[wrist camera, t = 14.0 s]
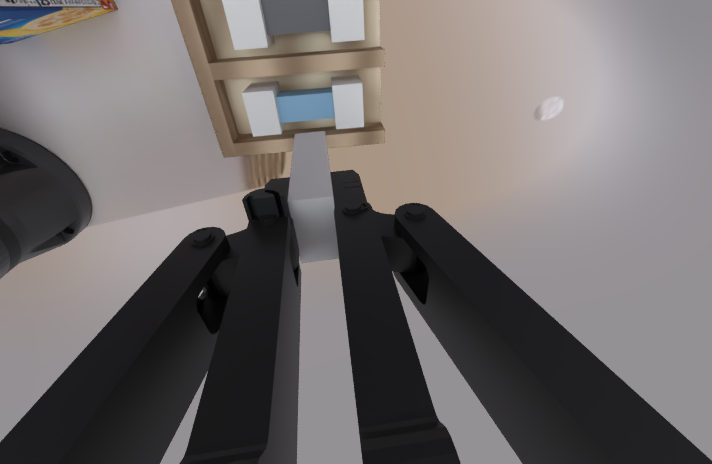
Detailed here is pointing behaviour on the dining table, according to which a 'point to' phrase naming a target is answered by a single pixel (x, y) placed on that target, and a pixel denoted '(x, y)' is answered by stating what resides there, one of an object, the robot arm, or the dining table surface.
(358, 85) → the blocky blue dumbbell
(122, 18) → the dining table surface
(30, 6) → the beverage box
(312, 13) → the blocky gray dumbbell
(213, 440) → the robot arm
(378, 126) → the wooden compartment tray
